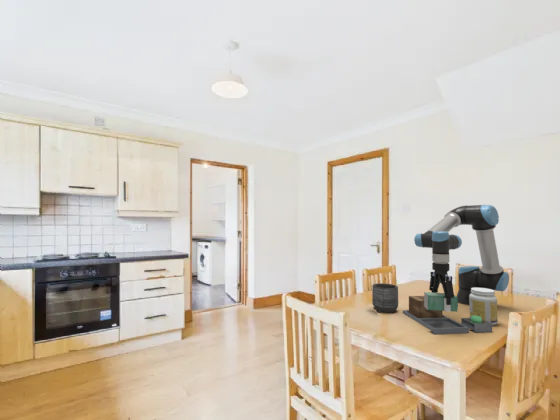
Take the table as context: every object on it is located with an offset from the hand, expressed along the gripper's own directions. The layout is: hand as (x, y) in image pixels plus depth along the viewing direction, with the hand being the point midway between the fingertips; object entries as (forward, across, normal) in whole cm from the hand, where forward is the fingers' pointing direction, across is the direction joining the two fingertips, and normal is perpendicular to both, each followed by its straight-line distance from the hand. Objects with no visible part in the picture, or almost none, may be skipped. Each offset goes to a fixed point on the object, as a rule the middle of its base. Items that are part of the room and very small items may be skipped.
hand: (441, 308), depth 149 cm
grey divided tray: (+9, -7, 0) cm, 12 cm away
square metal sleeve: (+9, +3, +16) cm, 19 cm away
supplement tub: (+10, -6, +27) cm, 29 cm away
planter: (+10, -28, -16) cm, 34 cm away
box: (+1, 0, 0) cm, 1 cm away
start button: (+7, +3, +16) cm, 18 cm away
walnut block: (+8, -14, 0) cm, 16 cm away
